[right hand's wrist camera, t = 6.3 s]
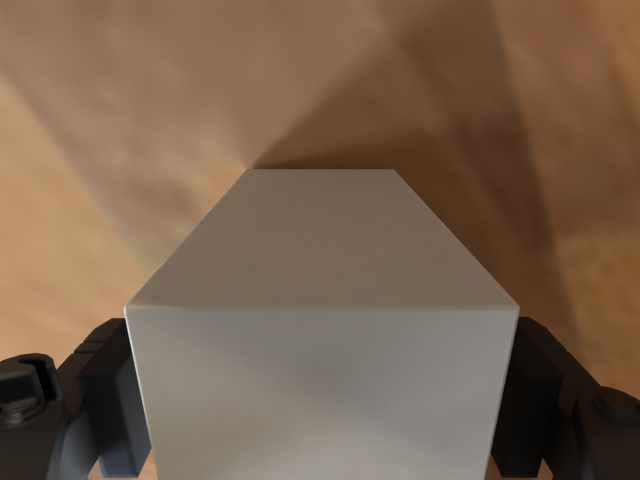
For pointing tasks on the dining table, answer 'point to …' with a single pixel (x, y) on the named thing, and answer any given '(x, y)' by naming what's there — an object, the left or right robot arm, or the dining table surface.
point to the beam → (321, 337)
